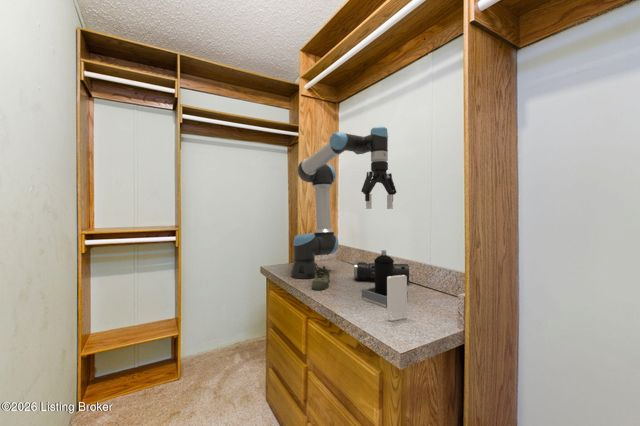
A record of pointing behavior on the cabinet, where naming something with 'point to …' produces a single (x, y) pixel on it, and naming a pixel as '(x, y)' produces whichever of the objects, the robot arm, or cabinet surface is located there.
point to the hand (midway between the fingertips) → (379, 208)
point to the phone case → (397, 297)
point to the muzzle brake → (368, 271)
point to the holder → (375, 297)
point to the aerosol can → (382, 272)
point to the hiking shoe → (321, 279)
